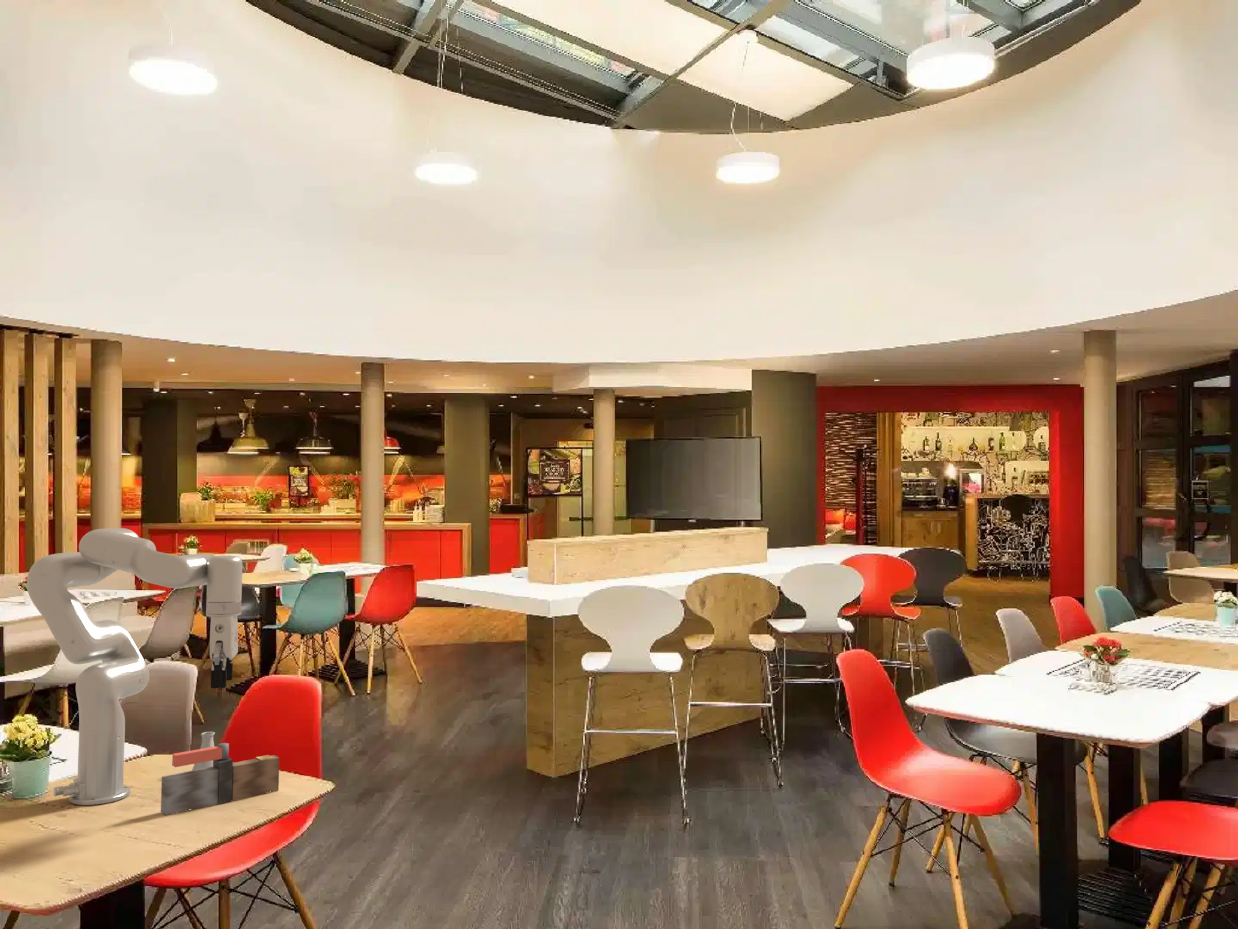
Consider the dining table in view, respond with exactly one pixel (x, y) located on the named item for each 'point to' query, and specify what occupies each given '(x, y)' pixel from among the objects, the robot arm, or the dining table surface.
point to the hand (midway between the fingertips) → (221, 683)
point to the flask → (206, 743)
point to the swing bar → (201, 755)
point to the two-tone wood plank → (219, 783)
